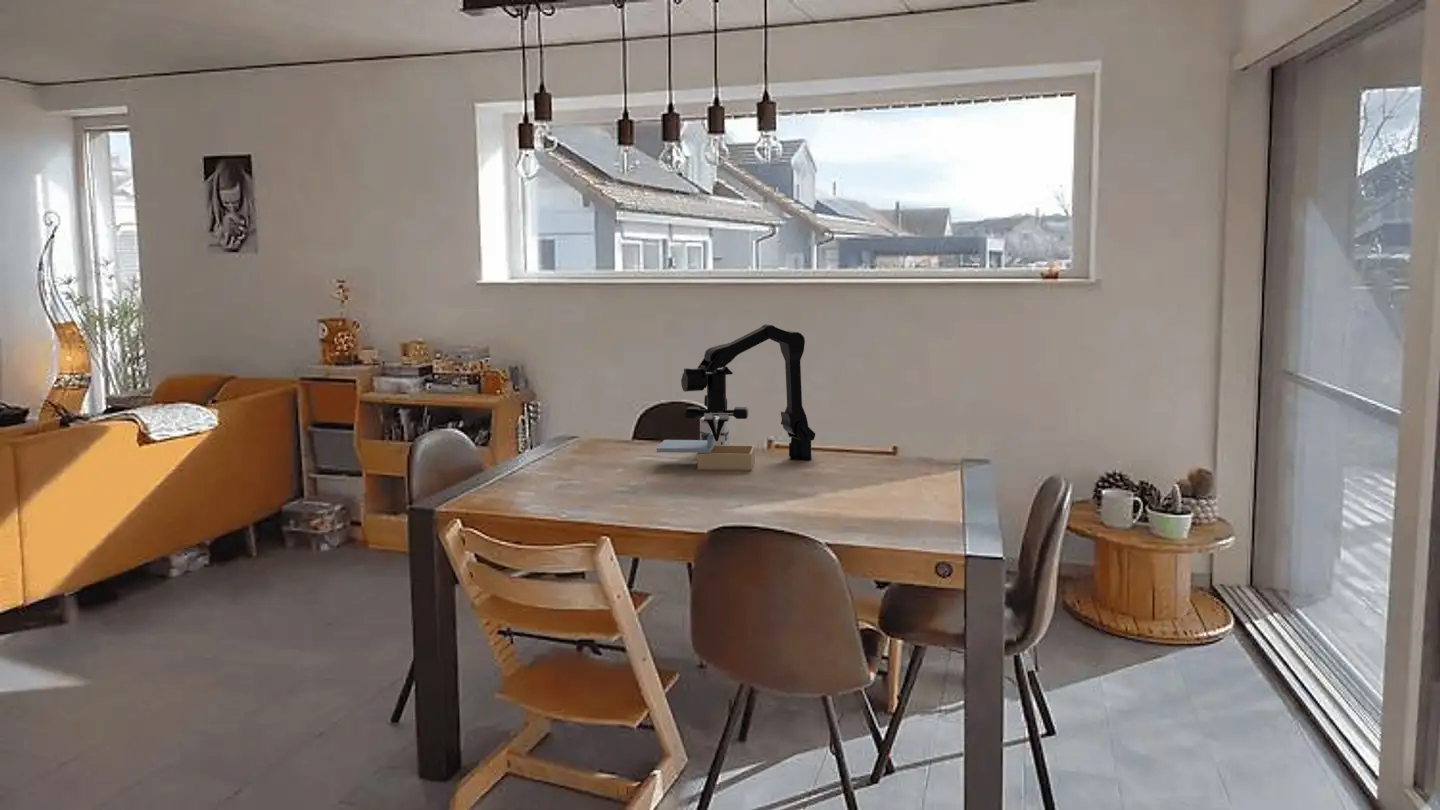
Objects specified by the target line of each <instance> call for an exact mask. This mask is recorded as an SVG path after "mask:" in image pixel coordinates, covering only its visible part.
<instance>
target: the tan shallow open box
mask: <svg viewBox="0 0 1440 810" xmlns="http://www.w3.org/2000/svg"><path fill="white" fill-rule="evenodd" d="M755 463H756V445H753V444H752V445H747V444H746V445H745V444H744V445H737V444H736V445H734V444H732V445H731V444H729V445H715V446H714V447H713V449H712V450H711V452H710V453H697V471H719V472H720V471H722V472H723V471H724V472H725V471H728V472H730V471H731V472H732V471H734V472H736V471H737V472H740V471H741V472H752V470H753V467H754V465H755Z"/></svg>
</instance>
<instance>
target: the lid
mask: <svg viewBox="0 0 1440 810" xmlns="http://www.w3.org/2000/svg"><path fill="white" fill-rule="evenodd" d="M714 446H715V438H714V436H713V433H712V432H711V433H710V434H709V436H708V437H707V440H700V439H697V440H696V439H664V440H662V442H661V443H660V444H659V445H658V446H657V447H656V453H681V454H682V453H687V454H688V453H691V454H692V453H693V454H698V453H710V452H711V450H712V449H713V447H714Z"/></svg>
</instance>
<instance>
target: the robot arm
mask: <svg viewBox="0 0 1440 810" xmlns="http://www.w3.org/2000/svg"><path fill="white" fill-rule="evenodd" d="M767 340H771V341H773V342H776V343H777V344H778V345H779V348H780V352H781V354H782V356H783V359H784V363H785V365H784V366H785V385H786V386H785V388H786V391H785V392H786V408H785V410H784V411H780V418H781V420H780V425H782V427H783V430H785V432H786V433H787V435H788V437H789V438H791V439H790V442H789V443H788V456H789V457H790V460H791V461H793V460H796V461H797V460H805V461H806V460H807V461H808V460H809V461H811V460H812V457H813V455H812V441H815V438H816V432H814V431H813V430H812V428H811V427H809V422H808V419H807V414H806V412H805V409H804V407H803V396H802V391H803V390H802V372H801V369H802V367H801V360H802V357H803V354H804V352H805V344H806V339H805V336H804V335H803V334H802V333H801V332H798V331H791V330H784V329H781V328H778V327H777V326H775V325H774V324H773V325H772V324H763V325H761V327H759V328H756V329H755V330H753V331H751V332H749V333H746V334H745V335H743V336H741V337H738V338H737V339H735V340H733V341H731V342H728V343H725V344H724V343H723V344H718V345H715V346H712V347H710V348H708V349H706V350H705V352H704V357H703V359H702V361H701V362H700V364H699V365H698V366H697V368H687V367H686V368H683V373H682V374H681V375H682V377H681V379H680V380H681V389H682V390H683V393H684V392H700V391H701V392H702V391H704V390H705V389H706V395H704V402H703V403H704V404H703V405H704V406H705V407H706V409H701V407H700V406H687V408H686V409H685V410H684V418H685V419H696V418H697V417H699V416H700V417H701V416H702V417H704V421H707V423H708V424H709V426H710V428H711V430H712V433H713V436H714V438H715V441H718V440H719V437H720V433H721V430H722V427H723V425H724V423H725V422H727V421H728V420H729V421H730V417H734V418H735V419H736V420H746V419H748V417H749V409H748V408H747V407H746V406H735V407H734V408H733V409H728V399H727V375H728V376H729V375H733V373H734V372H733V371H732V370H731V369H729V367H728V366H727V365H728V364H730V363H731V362H732V361H733V360H734V359H735V358H736V357H737V356H738V355H740V354H742V353H743V352H746V351H748V350H750V349H752V348H754V347H756V346H758V345H760V344H761V343H763V342H766V341H767ZM714 416H718V417H720V418H719V419H718V425H717V430H716V418H715V417H714Z"/></svg>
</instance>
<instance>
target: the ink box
mask: <svg viewBox="0 0 1440 810" xmlns="http://www.w3.org/2000/svg"><path fill="white" fill-rule="evenodd" d="M714 417H715V418H716V430H717V425H718V419H719V418H720V417H719V416H714ZM729 421H730V419H729V420H728V421H727V422H725V423H724V425H723V427H722V430H721V433H720V437H719V440H718V441H715V445H730V444H729V443H730V433H729V432H730V422H729ZM711 432H712V430H711V428H710V426H709V424H708V423H707V421H704V416H702V417H701V418H699V440H707V437H708V436H709V434H710V433H711Z"/></svg>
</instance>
